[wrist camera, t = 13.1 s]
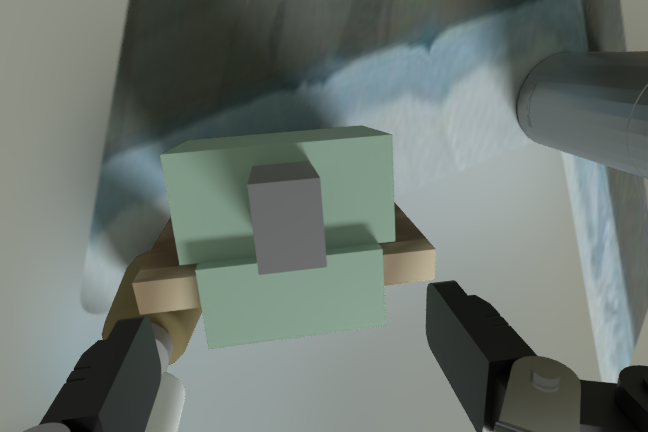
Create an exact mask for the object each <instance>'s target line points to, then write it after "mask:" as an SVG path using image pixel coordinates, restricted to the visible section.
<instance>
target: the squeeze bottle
mask: <svg viewBox="0 0 648 432" xmlns="http://www.w3.org/2000/svg"><path fill="white" fill-rule="evenodd" d="M150 252H151V250H150V251H148V252H146V253H144V254H142V255H139V256H137V257H136V258H135V259H134V261H133V262H132V263H131V264H130V265H129V266H128V267H127V269H126V271H125V274H124V276H123V279H122V281H121V284H120V286H119V289H118V291H117V293H116V296H115V298H114V301H113V303H112V306H111V308H110V311H109V313H108V316H107V318H106V321H105V324H104V328H103V332H102V338H103V340H106V339H107V338H108V336H109V334H110V333H111V331H112V329H113V327H114V326H115V324H116V322H117V321H118V320H120V319H128V318H136V317H145V316H147V317H149V319H150V321H151V324H152V328H153V332H154V336H155V340H156V345H157V349H158V353H159V357H160V361H161V375H162V374H163V373H164V372H165V371H166V370H167V367H168V365H170V364H173V363H175V361H176V360H177V359H178V358H179V357H180V356H181V355H182V354H183V353H184V352H185V349H186V347H187V345H188V343H189V340H190V338H191V336H192V333H193V331H194V329H195V326H196V324H197V322H198V320H199V318H200V315H201V313H202V308H192V309H184V310H176V311H167V312H159V313H150V314H142V315H140V313H139V309H138V305H137V301H136V297H135V293H134V289H133V285H132V283H133V281H134V279H135V277H136V276H137V274H138V272H139V271H140V269H141V267H142V266H143V264H144V262H145V260H146V259H147V257H148V255H149V254H150Z"/></svg>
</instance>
